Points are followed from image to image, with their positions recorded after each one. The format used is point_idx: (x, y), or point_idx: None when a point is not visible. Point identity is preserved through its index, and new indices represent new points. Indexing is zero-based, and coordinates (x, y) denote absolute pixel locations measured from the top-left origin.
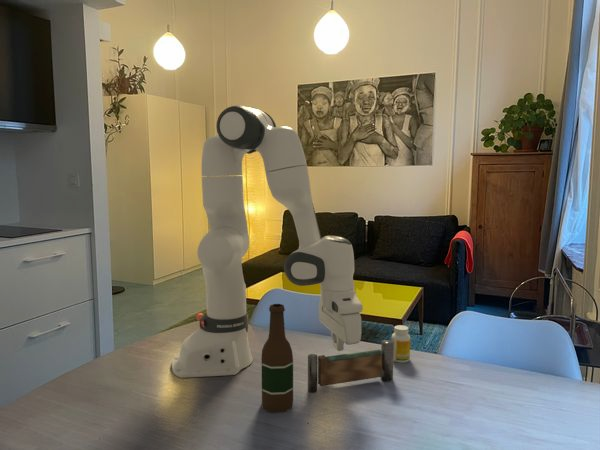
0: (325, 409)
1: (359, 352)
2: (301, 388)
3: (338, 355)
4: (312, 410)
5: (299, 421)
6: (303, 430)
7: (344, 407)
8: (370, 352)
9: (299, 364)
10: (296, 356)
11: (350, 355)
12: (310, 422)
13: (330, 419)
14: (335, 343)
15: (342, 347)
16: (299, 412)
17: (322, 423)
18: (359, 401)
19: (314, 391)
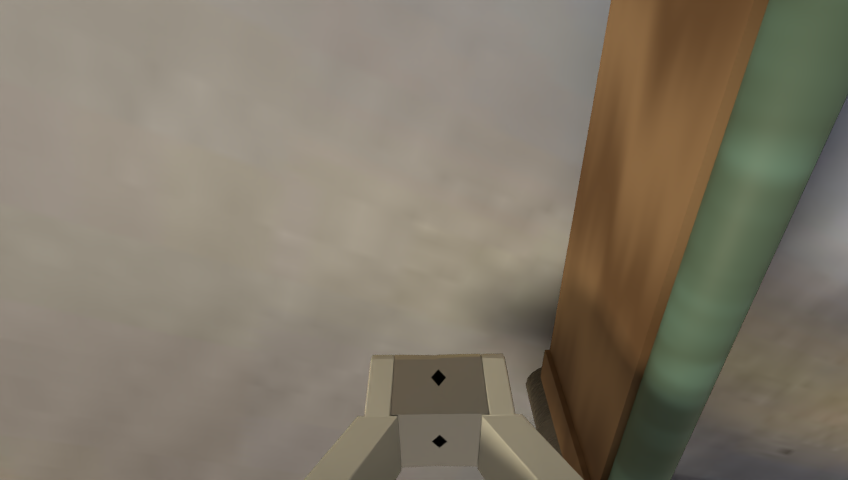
0: (749, 381)
1: (752, 266)
2: None
3: (670, 458)
4: (718, 421)
5: (755, 469)
6: (818, 471)
7: (799, 307)
8: (842, 102)
9: (204, 361)
10: (71, 349)
11: (723, 362)
12: (791, 445)
13: (835, 386)
14: (447, 460)
15: (504, 382)
16: (698, 458)
17: (833, 416)
18: (810, 215)
19: None
